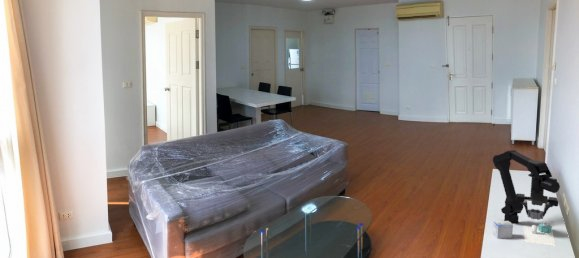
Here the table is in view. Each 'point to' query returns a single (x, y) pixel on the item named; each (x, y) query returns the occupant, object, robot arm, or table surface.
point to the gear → (535, 214)
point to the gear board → (539, 234)
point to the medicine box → (503, 229)
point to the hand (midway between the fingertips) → (535, 215)
